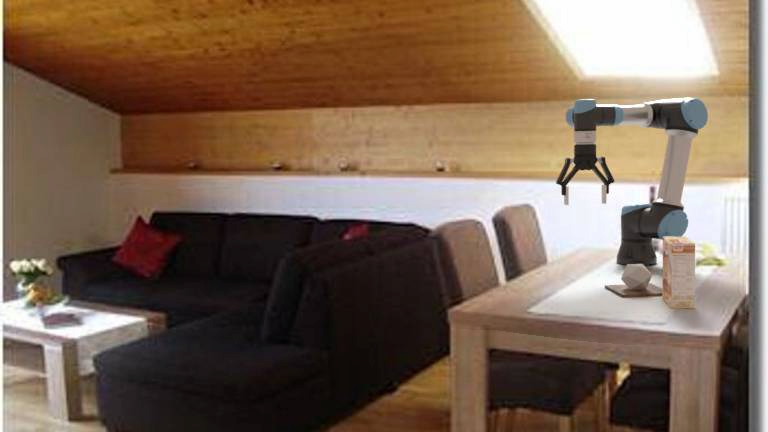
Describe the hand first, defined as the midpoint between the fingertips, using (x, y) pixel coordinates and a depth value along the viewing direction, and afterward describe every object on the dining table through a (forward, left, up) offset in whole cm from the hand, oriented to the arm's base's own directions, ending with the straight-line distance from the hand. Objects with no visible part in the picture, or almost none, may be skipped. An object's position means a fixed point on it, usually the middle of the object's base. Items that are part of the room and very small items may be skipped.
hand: (585, 204), depth 284 cm
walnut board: (-9, +25, -27) cm, 38 cm away
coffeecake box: (-14, +44, -27) cm, 53 cm away
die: (-9, +25, -26) cm, 37 cm away
